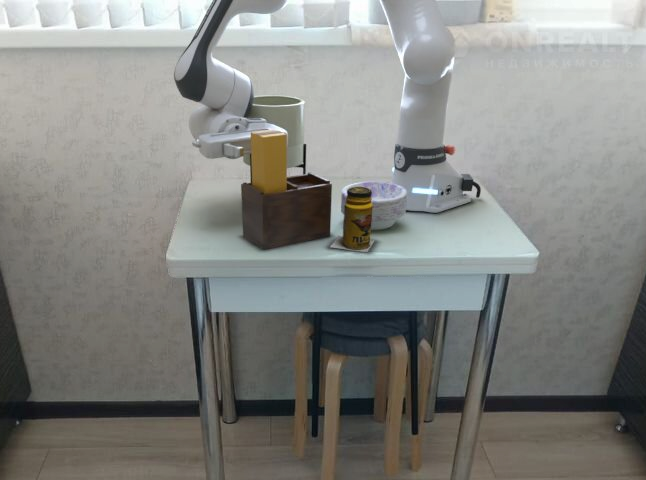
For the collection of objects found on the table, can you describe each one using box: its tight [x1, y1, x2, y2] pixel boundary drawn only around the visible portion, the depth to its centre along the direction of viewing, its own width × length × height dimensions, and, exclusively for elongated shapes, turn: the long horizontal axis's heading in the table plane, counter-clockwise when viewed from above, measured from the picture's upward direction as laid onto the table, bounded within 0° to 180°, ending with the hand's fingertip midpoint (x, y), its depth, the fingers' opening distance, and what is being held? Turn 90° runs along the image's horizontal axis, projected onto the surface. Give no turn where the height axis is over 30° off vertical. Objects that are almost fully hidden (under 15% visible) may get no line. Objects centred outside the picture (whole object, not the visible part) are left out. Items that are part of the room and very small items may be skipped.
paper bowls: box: [340, 181, 407, 231], centre depth 163 cm, size 15×15×8 cm
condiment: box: [329, 187, 375, 253], centre depth 151 cm, size 7×8×12 cm
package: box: [251, 129, 288, 194], centre depth 147 cm, size 6×6×12 cm
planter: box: [242, 94, 307, 183], centre depth 174 cm, size 15×16×23 cm
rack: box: [240, 171, 333, 250], centre depth 155 cm, size 17×10×12 cm, turn 121°
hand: (260, 150), depth 148 cm, fingers open, 8 cm apart
